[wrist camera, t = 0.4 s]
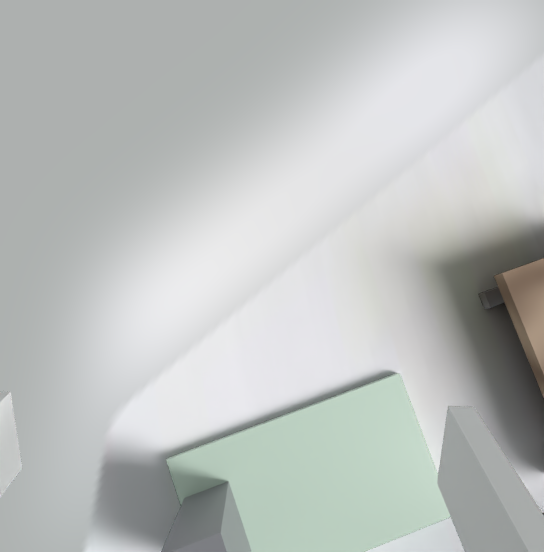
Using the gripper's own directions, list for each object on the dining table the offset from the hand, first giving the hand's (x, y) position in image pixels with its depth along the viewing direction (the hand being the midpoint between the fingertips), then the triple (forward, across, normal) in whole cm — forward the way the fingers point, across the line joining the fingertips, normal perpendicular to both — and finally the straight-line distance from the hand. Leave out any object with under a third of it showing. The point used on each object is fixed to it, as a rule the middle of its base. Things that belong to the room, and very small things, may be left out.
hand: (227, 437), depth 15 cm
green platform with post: (+24, -4, +22) cm, 33 cm away
